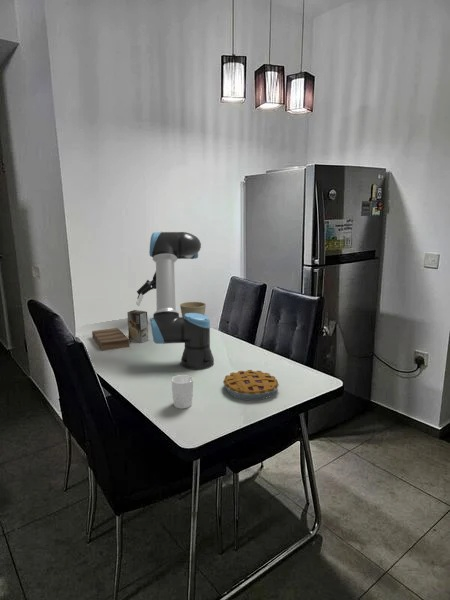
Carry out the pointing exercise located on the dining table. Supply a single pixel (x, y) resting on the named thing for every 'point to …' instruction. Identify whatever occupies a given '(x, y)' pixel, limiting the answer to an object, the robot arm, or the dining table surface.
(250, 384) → the pie
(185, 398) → the white cup
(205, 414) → the dining table surface
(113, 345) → the walnut stand
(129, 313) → the coffee box
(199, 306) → the plant pot
